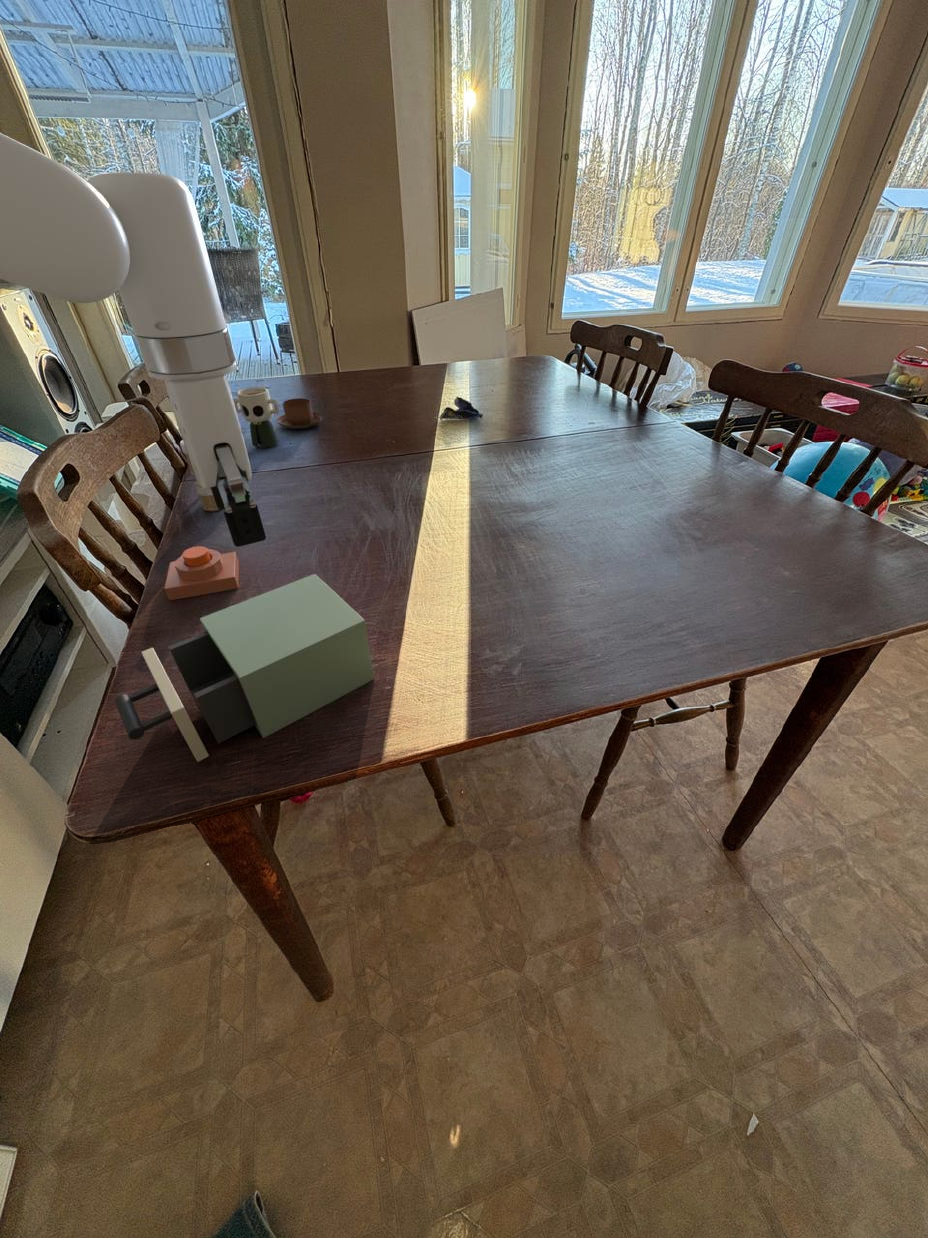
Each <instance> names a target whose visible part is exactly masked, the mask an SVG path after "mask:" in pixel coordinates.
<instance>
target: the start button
mask: <svg viewBox="0 0 928 1238" xmlns="http://www.w3.org/2000/svg"><path fill="white" fill-rule="evenodd" d="M207 549H208V548H207V547H206V546H203V545H202V546H201V545H199V546H198V545H197V546H192V547H189V548H187V549H185V550H184V551H183V552H182V554H181V556H182V555H183V558H184V561H185V563H186V565H187V566H188V567H197V566H202V565H204V564H206V563H208V562H209V561H210V560H211V558H210V555H209V552H208V550H207Z"/></svg>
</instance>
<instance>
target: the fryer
mask: <svg viewBox="0 0 928 1238" xmlns="http://www.w3.org/2000/svg"><path fill="white" fill-rule="evenodd" d="M199 621H200V623H201V626H202V629H203V632H206V631H207V632H208V634H209V635H210V637H211V638H212V640H213V641H214V643H215V644H216V646H217V647H218V649H219V650H220V652H221V653H222V655H223V656H224V658H225V659H226V661H227V662H228V664H229V665H230V667H231V668H232V670H233V671H234V673H235V674H236V676H237V677H238V679H239V681H240V683H241V686H242V689H243V691H244V694H245V696H246V699H247V701H248V704H249V706H250V709H251V711H252V714H253V716H254V719H255V721H256V725H254V727H255V728H256V729H257V731H258V733H259V734H260V736H261V737H262V739H264V738H265V739H266V738H267V737H268V736H271V735H272V734H274V733H276V732H278V731H280V730H281V729H283V728H285V727H287V726H289V725H291V724H293V723H294V722H297V721H299V720H300V719H302V718H304V717H306V716H308V715H309V714H312V713H314V712H316V711H317V710H319V709H321V708H323V707H325V706H327V705H329V704H330V703H332V702H334V701H336V700H338V699H340V698H341V697H344V696H345V695H348V694H349V693H351V692H353V691H354V690H357V689H358V688H361V687H362V686H364V685H366V684H368V683H370V682H371V681H374V680H375V673H374V667H373V662H372V661H373V660H372V656H371V650H370V643H369V637H368V629H367V625H366V620H365V619H364V618H363V617H362V616H361V615H360V614H359V613H358V612H357V611H356V610H355V609H353V608H352V607H351V606H350V605H349V603H347V602H346V601H345V600H344V599H343V598H342V597H340V595H338V593H336V592H335V591H334V590H333V589H332V588H331V587H330V586H329V585H328V584H327V583H326V582H325V581H323V580H322V578H320V577H319V576H318V575H317V574H316V573H313V574H310V575H308V576H305V577H302V578H300V579H297V580H295V581H293V582H290V583H287V584H285V585H282V586H280V587H277V588H275V589H272V590H269V591H267V592H265V593H261V594H259V595H256V596H254V597H251V598H249V599H246V600H243V601H241V602H237V603H235V604H234V605H231V606H228V607H226V608H223V609H220V610H218V611H215V612H212V613H209V614H207V615H204V616H202V617H200V618H199Z"/></svg>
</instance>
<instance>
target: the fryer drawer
mask: <svg viewBox="0 0 928 1238" xmlns="http://www.w3.org/2000/svg"><path fill="white" fill-rule="evenodd" d="M167 649H168V651H169V652H170V655H171V657H172V659H173V661H174V663H175V665H176V666H177V669H178V671H179V673H180V675H181V677H182V679H183V681H184V683H185V686H186V687H187V689H188V692H189V693H190V695H191V697H192V699H193V701H194V702H195V704H196V706H197V708H198V709H199V711H200V713H201V715H202V717H203V719H204V720H205V722H206V725H207V726H208V728H209V730H210V731H211V733H212V735H213V737H214V739H215V741H216V743H217V744H221V743H223V742H225V741H227V740H229V739H231V738H233V737H235V736H237V735H238V734H241V733H243V732H244V731H246V730H248V729H250V728H252V727H255V725H256V721H255V719H254V716H253V714H252V711H251V709H250V706H249V704H248V701H247V699H246V696H245V694H244V691H243V689H242V686H241V683H240V681H239V679H238V677H237V676H236V674H235V673H234V671H233V670H232V668H231V667H230V665H229V664H228V662H227V661H226V659H225V658H224V656H223V655H222V653H221V652H220V650H219V649H218V647H217V646H216V644H215V643H214V641H213V640H212V638H211V637H210V635H209V634H208V632H207V631H206V632H205V631H203V632H201V633H199V634H197V635H193V636H191V637H189V638H186V639H184V640H181V641H179V642H177V643H176V642H175V643H174V644H171V645H169V646H167ZM140 653H141V655H142V657H143V659H144V661H145V663H146V665H147V667H148V669H149V671H150V673H151V676H152V678H153V680H154V682H155V683H154V684H153V685H150V686H148V687H145V688H144V689H141V690H139V691H136V692H134V693H132V694H126V693H123V694H119V695H118V696H116V698H115V699H114V703H115V706H116V708H117V711H118V713H119V717H120V718H121V721H122V724H123V726H124V729H125V731H126V734H127V737H128V739H129V740H134V741H135V740H139V739H141V738H143V736H144V735H145V733H146V731H149V730H150V729H152V728H155V727H157V726H158V725H161V724H163V723H165V722H167V721H170V720H171V719H173V720H174V722H175V723H176V725H177V727H178V729H179V731H180V733H181V735H182V736H183V738H184V740H185V743H186V744H187V746H188V748H189V750H190V752H191V753H192V755H193V757H194V758H195V760H196V762H197V763H199V762H201V761H202V760H204V759H206V758H208V757H209V756H210V755H209V753H208V751H207V749H206V747H205V745H204V743H203V741H202V740H201V737H200V735H199V734H198V732H197V730H196V728H195V725H194V724H193V722H192V720H191V718H190V716H189V714H188V712H187V710H186V709H185V706H184V705H183V703H182V701H181V698H180V697H179V695H178V693H177V691H176V689H175V687H174V685H173V683H172V681H171V679H170V678H169V676H168V673H167V672H166V670H165V667H164V666H163V663H162V662H161V660H160V659H159V657H158V655H157V653H156V651H155V649H154V647H150V648H147V649H145V650H143V651H141V652H140ZM157 692H160V694H161V696H162V698H163V701H164V702H165V704H166V707H167V709H168V711H166V712H164V713H162V714H159V715H157V716H156V717H154V718H150V719H149V720H147V721H144V722H143V723H142V721H141V720H140V717H139V715H138V712H137V710H136V707H135V705H134V703H135V702H137V701H139V700H142V699H144V698H147V697H148V696H151V695H153V694H155V693H157Z"/></svg>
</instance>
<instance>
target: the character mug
mask: <svg viewBox="0 0 928 1238" xmlns="http://www.w3.org/2000/svg"><path fill="white" fill-rule="evenodd" d="M233 401H234V404H235V408H236V412H237V414H238V413H239V414H240V413H241V414H242V417H243V418H244V419H245V421H247V422H250V423H249V431H250V432H249V433H250V438H251V444H252V446H253V447H255V448H260V446H261V447H262V448H271V447H273V446H275V445H276V444H278V442H279V438H278V435H277V432H276V430H275V427H274V424H273V423H272V422H271V419H272V418H274V414H276V415H277V414H280V409H279V408H280V407H279V403H278V401H277V399H276V398H271V396H270V392H269V389H268V388H265V387H259V386H258V387H247V388H242V389H239V390H238V391H237V398H233ZM273 407H274V409H273Z"/></svg>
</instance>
